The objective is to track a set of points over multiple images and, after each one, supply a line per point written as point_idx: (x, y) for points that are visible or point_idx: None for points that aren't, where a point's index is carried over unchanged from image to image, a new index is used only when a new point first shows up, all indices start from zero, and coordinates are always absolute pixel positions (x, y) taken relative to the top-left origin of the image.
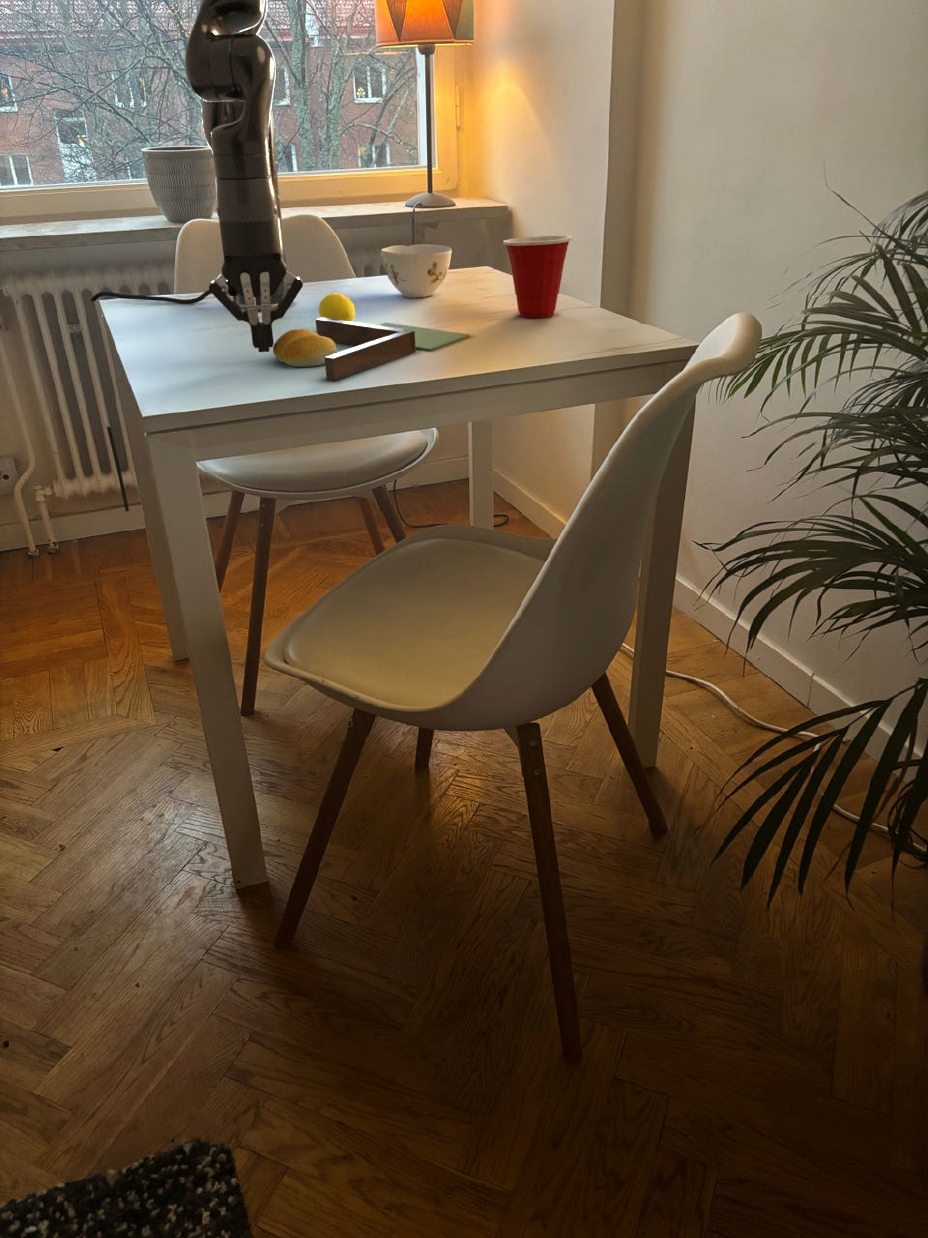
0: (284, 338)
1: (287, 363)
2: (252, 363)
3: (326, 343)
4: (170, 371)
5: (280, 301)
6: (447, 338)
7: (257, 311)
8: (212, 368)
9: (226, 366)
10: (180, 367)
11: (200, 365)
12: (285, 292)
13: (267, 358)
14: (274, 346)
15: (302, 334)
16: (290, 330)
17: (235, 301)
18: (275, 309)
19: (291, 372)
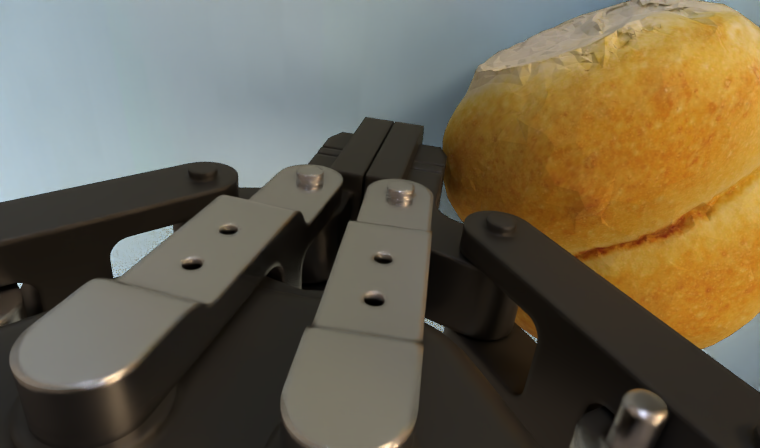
0: None
1: None
2: (341, 124)
3: (715, 342)
4: (7, 113)
5: (515, 295)
6: None
7: (329, 197)
8: (169, 137)
9: (225, 128)
10: (29, 62)
11: (108, 62)
12: (579, 347)
13: (422, 55)
14: (447, 177)
15: (624, 234)
16: (567, 163)
17: (133, 219)
18: (456, 314)
19: None
